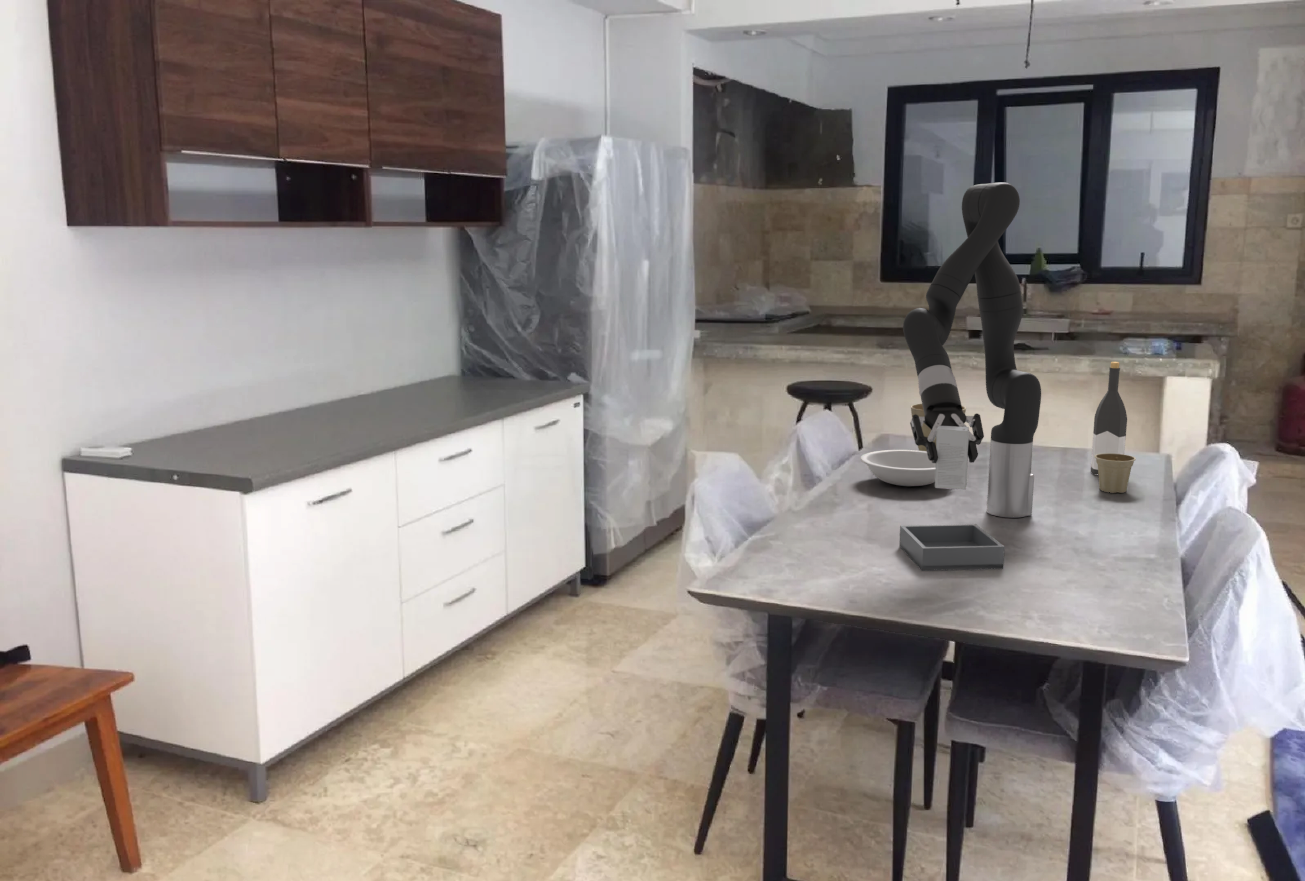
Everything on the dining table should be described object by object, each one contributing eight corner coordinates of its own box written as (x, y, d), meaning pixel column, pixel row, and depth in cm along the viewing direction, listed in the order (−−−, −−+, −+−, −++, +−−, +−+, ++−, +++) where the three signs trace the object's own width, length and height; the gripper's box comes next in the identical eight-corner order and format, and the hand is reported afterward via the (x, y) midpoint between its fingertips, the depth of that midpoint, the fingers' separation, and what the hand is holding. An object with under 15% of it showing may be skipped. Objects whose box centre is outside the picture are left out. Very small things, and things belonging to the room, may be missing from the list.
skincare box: (967, 485, 213) (969, 426, 211) (965, 490, 209) (968, 430, 207) (935, 483, 215) (938, 425, 213) (933, 488, 211) (936, 428, 209)
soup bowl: (941, 499, 260) (942, 473, 258) (847, 488, 271) (847, 463, 270) (965, 479, 280) (966, 454, 279) (876, 470, 292) (877, 446, 290)
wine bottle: (1125, 472, 286) (1134, 361, 280) (1119, 478, 280) (1129, 364, 274) (1093, 469, 291) (1101, 359, 285) (1087, 474, 284) (1095, 362, 278)
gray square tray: (974, 544, 223) (976, 524, 222) (1003, 568, 207) (1004, 546, 206) (899, 546, 222) (900, 525, 221) (922, 570, 206) (923, 548, 206)
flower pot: (1092, 493, 265) (1094, 459, 263) (1092, 484, 273) (1094, 451, 271) (1133, 496, 261) (1136, 462, 259) (1132, 488, 270) (1135, 454, 268)
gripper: (908, 382, 215) (922, 451, 206) (978, 381, 216) (995, 449, 207) (900, 403, 222) (913, 471, 212) (968, 402, 222) (985, 470, 213)
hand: (954, 460), depth 210 cm, fingers closed on skincare box, 7 cm apart
